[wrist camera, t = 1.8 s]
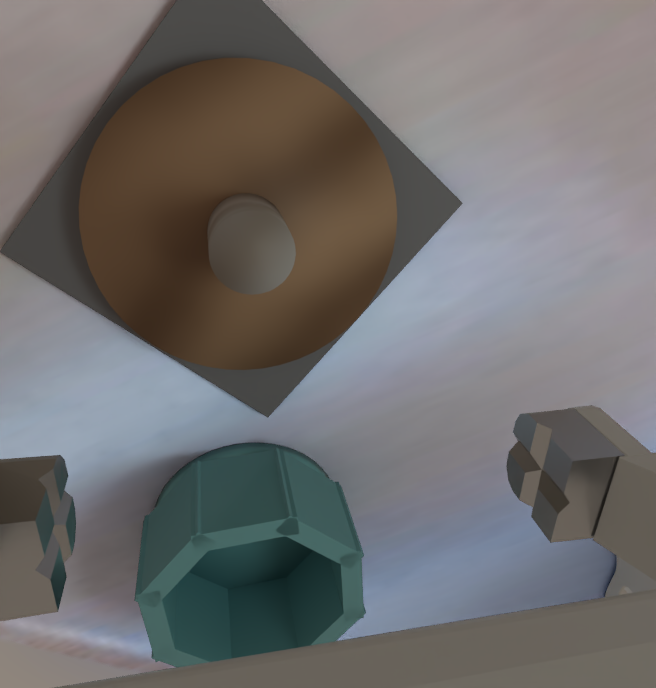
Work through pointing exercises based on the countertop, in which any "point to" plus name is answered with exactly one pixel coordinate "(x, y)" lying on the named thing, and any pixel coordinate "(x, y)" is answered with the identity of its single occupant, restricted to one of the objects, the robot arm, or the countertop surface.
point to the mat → (161, 58)
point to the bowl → (248, 558)
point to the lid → (237, 213)
